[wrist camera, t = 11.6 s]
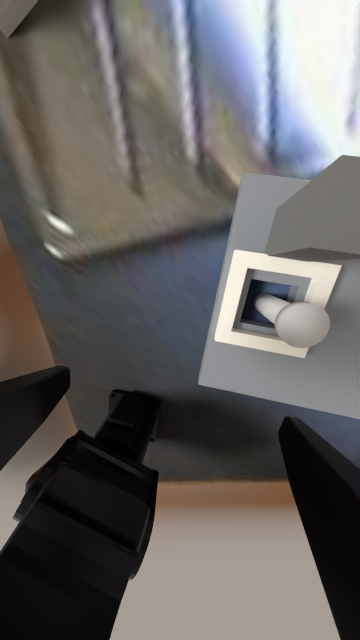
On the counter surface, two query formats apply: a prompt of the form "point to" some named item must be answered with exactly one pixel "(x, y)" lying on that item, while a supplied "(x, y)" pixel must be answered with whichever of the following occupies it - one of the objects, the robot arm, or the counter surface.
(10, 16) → the white gabled carton
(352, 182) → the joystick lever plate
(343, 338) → the hook board
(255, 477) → the counter surface
